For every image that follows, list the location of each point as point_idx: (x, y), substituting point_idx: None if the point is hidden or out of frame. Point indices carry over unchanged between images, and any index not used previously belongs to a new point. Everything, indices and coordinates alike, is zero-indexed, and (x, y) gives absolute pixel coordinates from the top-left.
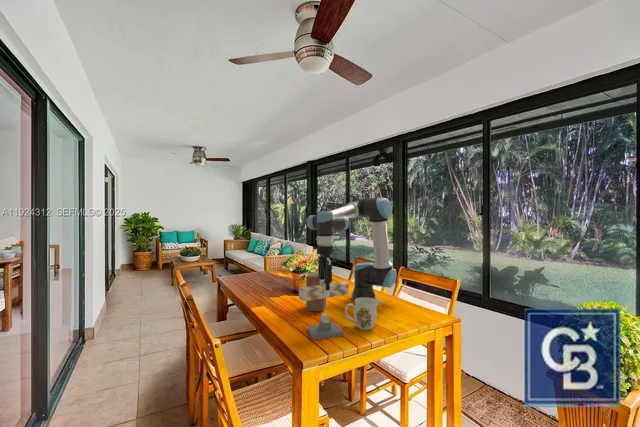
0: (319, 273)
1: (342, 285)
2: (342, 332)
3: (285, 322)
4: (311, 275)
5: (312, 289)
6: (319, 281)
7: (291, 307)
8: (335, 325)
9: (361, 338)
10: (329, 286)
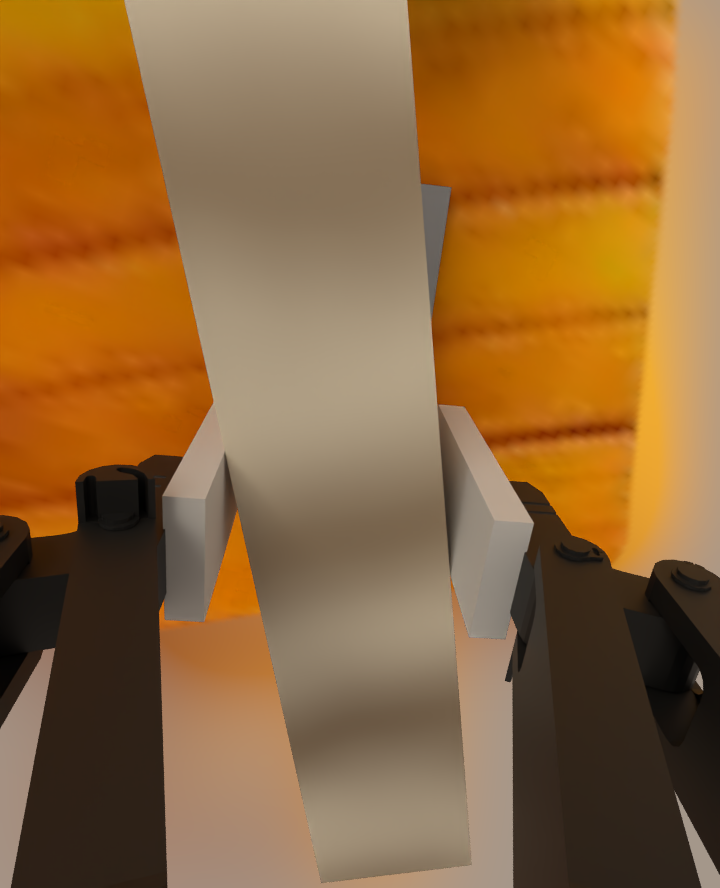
0: (7, 703)
1: (408, 69)
2: (449, 193)
3: None
4: None
5: (462, 749)
6: None
7: None
8: None
9: (568, 45)
10: (560, 521)
